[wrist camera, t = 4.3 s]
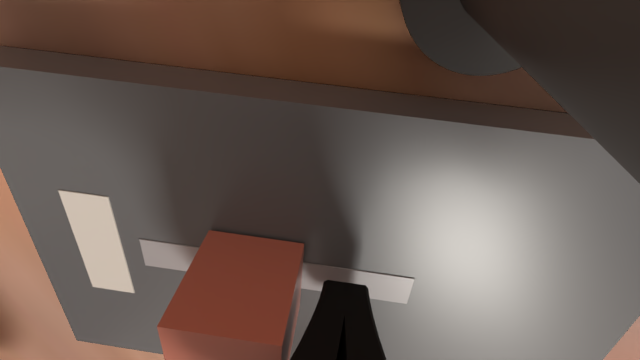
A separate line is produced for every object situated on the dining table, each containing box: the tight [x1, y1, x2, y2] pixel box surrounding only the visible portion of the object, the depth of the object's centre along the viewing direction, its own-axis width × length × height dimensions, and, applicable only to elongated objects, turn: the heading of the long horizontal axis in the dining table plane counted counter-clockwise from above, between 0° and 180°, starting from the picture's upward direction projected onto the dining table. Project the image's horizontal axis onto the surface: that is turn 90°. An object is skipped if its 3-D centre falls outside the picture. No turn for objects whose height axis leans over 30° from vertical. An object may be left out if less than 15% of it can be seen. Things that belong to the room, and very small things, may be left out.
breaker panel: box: [0, 46, 640, 360], centre depth 13 cm, size 20×12×2 cm, turn 86°
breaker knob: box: [157, 230, 304, 360], centre depth 11 cm, size 3×3×4 cm
